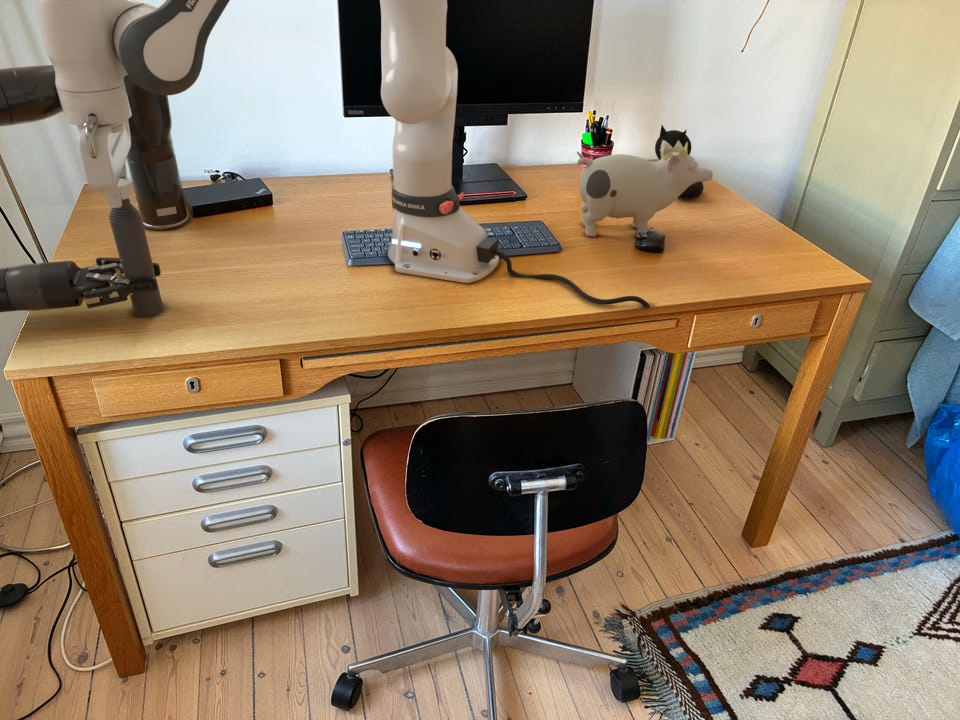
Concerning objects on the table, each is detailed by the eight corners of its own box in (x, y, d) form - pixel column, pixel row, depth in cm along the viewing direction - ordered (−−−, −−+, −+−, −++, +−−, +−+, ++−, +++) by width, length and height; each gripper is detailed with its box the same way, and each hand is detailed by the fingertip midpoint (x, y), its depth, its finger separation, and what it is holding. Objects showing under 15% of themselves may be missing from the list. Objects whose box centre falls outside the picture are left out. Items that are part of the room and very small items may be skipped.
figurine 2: (633, 187, 180) (643, 126, 171) (662, 174, 188) (673, 116, 180) (689, 205, 171) (702, 142, 162) (717, 191, 179) (731, 131, 171)
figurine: (703, 243, 153) (724, 151, 141) (570, 238, 152) (580, 145, 141) (692, 224, 161) (711, 135, 150) (566, 219, 161) (576, 130, 150)
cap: (100, 196, 111) (97, 183, 109) (123, 189, 113) (120, 176, 112) (115, 202, 109) (111, 189, 108) (138, 195, 111) (135, 182, 110)
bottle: (130, 308, 123) (97, 186, 110) (158, 300, 125) (128, 180, 113) (139, 319, 120) (106, 195, 108) (167, 311, 122) (137, 189, 110)
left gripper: (27, 286, 108) (149, 275, 112) (47, 246, 119) (157, 238, 123) (43, 328, 112) (159, 316, 116) (60, 286, 123) (166, 276, 127)
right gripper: (110, 125, 96) (134, 221, 104) (127, 88, 112) (147, 173, 120) (58, 127, 94) (87, 225, 102) (83, 89, 111) (106, 176, 118)
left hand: (157, 276), depth 120 cm, fingers closed on bottle, 4 cm apart
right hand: (119, 196), depth 111 cm, fingers open, 6 cm apart
